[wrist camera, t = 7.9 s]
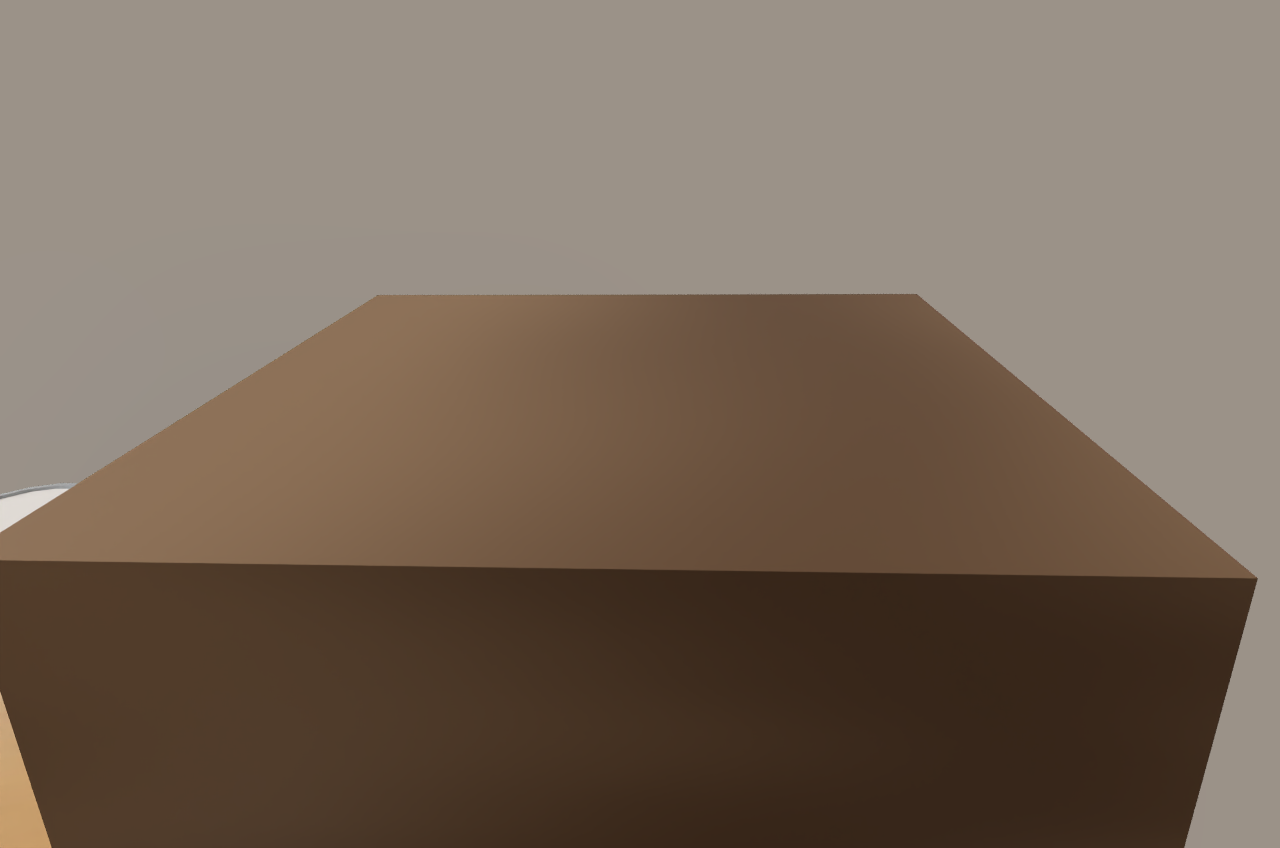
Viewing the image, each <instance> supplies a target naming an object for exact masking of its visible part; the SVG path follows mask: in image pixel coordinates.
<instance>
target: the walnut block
mask: <svg viewBox="0 0 1280 848" xmlns="http://www.w3.org/2000/svg"><path fill="white" fill-rule="evenodd" d="M1256 582H1257V577H1255V576H1254V575H1253V574H1252V573H1251V572H1249V571H1248V570H1247V569H1246V568H1245V567H1243V566H1242V565H1241V564H1240V563H1239V562H1237V561H1236V560H1235V559H1234V558H1233V557H1231V556H1230V555H1229V554H1228V553H1227V552H1225V551H1224V550H1223V549H1222V548H1221V547H1219V546H1218V545H1217V544H1216V543H1215V542H1213V541H1212V540H1211V539H1210V538H1208V537H1207V536H1206V535H1205V534H1204V533H1202V532H1201V531H1200V530H1199V529H1198V528H1197V527H1195V526H1194V525H1193V524H1192V523H1190V522H1189V521H1188V520H1187V519H1186V518H1185V517H1183V516H1182V515H1181V514H1180V513H1178V512H1177V511H1176V510H1175V509H1174V508H1173V507H1171V506H1170V505H1169V504H1168V503H1167V502H1165V501H1164V500H1163V499H1162V498H1161V497H1159V496H1158V495H1157V494H1156V493H1155V492H1153V491H1152V490H1151V489H1150V488H1149V487H1147V486H1146V485H1145V484H1144V483H1143V482H1141V481H1140V480H1139V479H1138V478H1137V477H1135V476H1134V475H1133V474H1132V473H1131V472H1129V471H1128V470H1127V469H1126V468H1125V467H1123V466H1122V465H1121V464H1120V463H1119V462H1117V461H1116V460H1115V459H1114V458H1113V457H1111V456H1110V455H1109V454H1108V453H1107V452H1105V451H1104V450H1103V449H1102V448H1100V447H1099V446H1098V445H1097V444H1096V443H1095V442H1093V441H1092V440H1091V439H1090V438H1089V437H1087V436H1086V435H1085V434H1084V433H1083V432H1081V431H1080V430H1079V429H1078V428H1077V427H1075V426H1074V425H1073V424H1072V423H1071V422H1069V421H1068V420H1067V419H1066V418H1065V417H1063V416H1062V415H1061V414H1060V413H1059V412H1057V411H1056V410H1055V409H1054V408H1053V407H1051V406H1050V405H1049V404H1048V403H1047V402H1045V401H1044V400H1043V399H1042V398H1041V397H1039V396H1038V395H1037V394H1036V393H1035V392H1033V391H1032V390H1031V389H1030V388H1029V387H1027V386H1026V385H1025V384H1024V383H1023V382H1021V381H1020V380H1019V379H1018V378H1017V377H1015V376H1014V375H1013V374H1012V373H1011V372H1009V371H1008V370H1007V369H1006V368H1005V367H1003V366H1002V365H1001V364H1000V363H998V362H997V361H996V360H995V359H994V358H993V357H991V356H990V355H989V354H988V353H987V352H985V351H984V350H983V349H982V348H981V347H979V346H978V345H977V344H976V343H975V342H973V341H972V340H971V339H970V338H969V337H967V336H966V335H965V334H964V333H963V332H961V331H960V330H959V329H958V328H957V327H955V326H954V325H953V324H952V323H951V322H949V321H948V320H947V319H946V318H945V317H944V316H942V315H941V314H940V313H939V312H938V311H936V310H935V309H934V308H933V307H931V306H930V305H929V304H928V303H927V302H925V301H924V300H923V299H922V298H921V297H920V296H918V295H917V294H809V295H807V294H801V295H800V294H799V295H798V294H797V295H796V294H795V295H794V294H793V295H792V294H790V295H789V294H788V295H787V294H786V295H785V294H784V295H783V294H779V295H377V296H376V297H374V298H373V299H371V300H369V301H368V302H366V303H365V304H363V305H362V306H360V307H358V308H357V309H355V310H353V311H352V312H350V313H349V314H347V315H346V316H344V317H342V318H341V319H339V320H338V321H336V322H334V323H333V324H331V325H330V326H328V327H327V328H325V329H323V330H322V331H320V332H318V333H317V334H315V335H314V336H312V337H311V338H309V339H307V340H306V341H304V342H303V343H301V344H299V345H298V346H296V347H295V348H293V349H291V350H290V351H288V352H287V353H285V354H283V355H282V356H280V357H279V358H277V359H275V360H274V361H272V362H271V363H269V364H268V365H266V366H264V367H263V368H261V369H260V370H258V371H256V372H255V373H253V374H252V375H250V376H249V377H247V378H245V379H244V380H242V381H240V382H239V383H237V384H236V385H234V386H233V387H231V388H229V389H228V390H226V391H225V392H223V393H221V394H220V395H218V396H217V397H215V398H214V399H212V400H210V401H209V402H207V403H205V404H204V405H202V406H201V407H199V408H197V409H196V410H194V411H193V412H191V413H190V414H188V415H186V416H185V417H183V418H182V419H180V420H178V421H177V422H175V423H174V424H172V425H171V426H169V427H168V428H166V429H164V430H163V431H161V432H159V433H158V434H156V435H155V436H153V437H151V438H150V439H148V440H147V441H145V442H144V443H142V444H140V445H139V446H137V447H135V448H134V449H132V450H131V451H129V452H127V453H126V454H124V455H123V456H121V457H120V458H118V459H116V460H115V461H113V462H112V463H110V464H108V465H107V466H105V467H104V468H102V469H101V470H99V471H97V472H96V473H94V474H92V475H91V476H89V477H88V478H86V479H84V480H83V481H81V482H80V483H78V484H76V485H75V486H73V487H72V488H70V489H69V490H67V491H65V492H64V493H62V494H61V495H59V496H57V497H56V498H54V499H53V500H51V501H49V502H48V503H46V504H45V505H43V506H41V507H40V508H38V509H37V510H35V511H33V512H32V513H30V514H29V515H27V516H26V517H24V518H22V519H21V520H19V521H18V522H16V523H14V524H13V525H11V526H10V527H8V528H6V529H5V530H3V531H2V532H0V692H1V695H2V698H3V701H4V704H5V707H6V710H7V713H8V716H9V719H10V722H11V725H12V728H13V731H14V734H15V737H16V740H17V743H18V746H19V750H20V753H21V756H22V759H23V762H24V765H25V768H26V771H27V774H28V777H29V780H30V783H31V786H32V789H33V792H34V795H35V798H36V801H37V804H38V807H39V810H40V813H41V816H42V819H43V822H44V825H45V828H46V831H47V834H48V837H49V841H50V844H51V847H52V848H1184V846H1185V842H1186V839H1187V835H1188V831H1189V828H1190V824H1191V820H1192V817H1193V813H1194V809H1195V806H1196V802H1197V798H1198V795H1199V791H1200V788H1201V784H1202V780H1203V777H1204V773H1205V769H1206V765H1207V762H1208V758H1209V754H1210V751H1211V747H1212V744H1213V740H1214V736H1215V733H1216V729H1217V725H1218V722H1219V718H1220V714H1221V711H1222V707H1223V703H1224V700H1225V696H1226V692H1227V689H1228V685H1229V682H1230V678H1231V674H1232V671H1233V667H1234V663H1235V660H1236V655H1237V652H1238V649H1239V645H1240V641H1241V638H1242V634H1243V630H1244V627H1245V623H1246V619H1247V616H1248V612H1249V608H1250V604H1251V601H1252V597H1253V594H1254V590H1255V586H1256Z"/></svg>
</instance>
